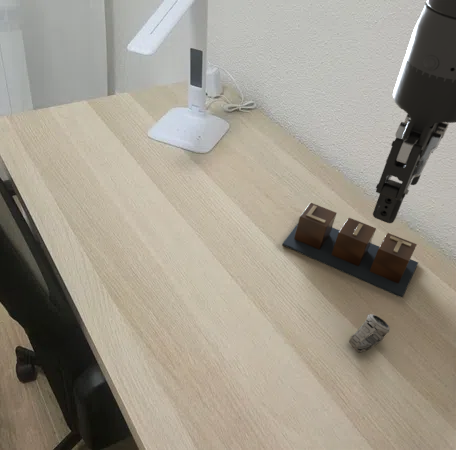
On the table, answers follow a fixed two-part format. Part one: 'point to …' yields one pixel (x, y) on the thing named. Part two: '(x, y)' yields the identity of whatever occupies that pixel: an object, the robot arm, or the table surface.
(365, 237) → the tile
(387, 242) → the tile
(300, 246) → the mat
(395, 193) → the robot arm
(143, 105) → the table surface
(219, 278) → the table surface
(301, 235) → the tile
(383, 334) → the silver wristwatch
